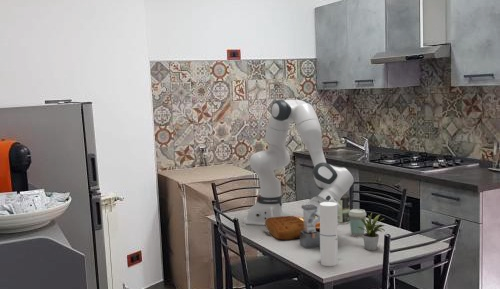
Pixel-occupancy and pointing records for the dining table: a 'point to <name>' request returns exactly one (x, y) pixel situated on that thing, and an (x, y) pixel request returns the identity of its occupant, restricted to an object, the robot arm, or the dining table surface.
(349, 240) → the dining table surface
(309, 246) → the stand base
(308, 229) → the column
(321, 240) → the cylindrical container
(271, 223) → the cuneiform tablet
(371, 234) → the house plant
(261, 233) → the dining table surface
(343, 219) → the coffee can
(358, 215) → the coffee cup
